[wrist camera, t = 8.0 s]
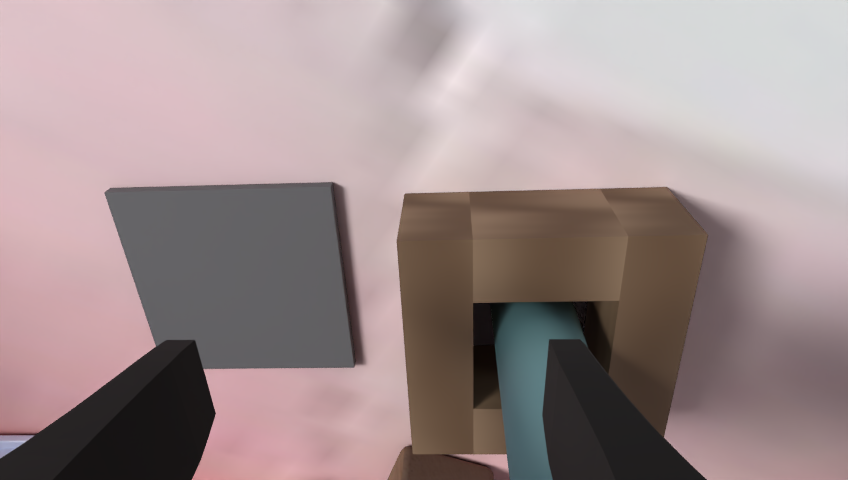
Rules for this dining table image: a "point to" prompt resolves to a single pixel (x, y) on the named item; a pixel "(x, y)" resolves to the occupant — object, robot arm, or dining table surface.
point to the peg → (528, 376)
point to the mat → (240, 271)
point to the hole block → (541, 296)
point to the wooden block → (436, 468)
